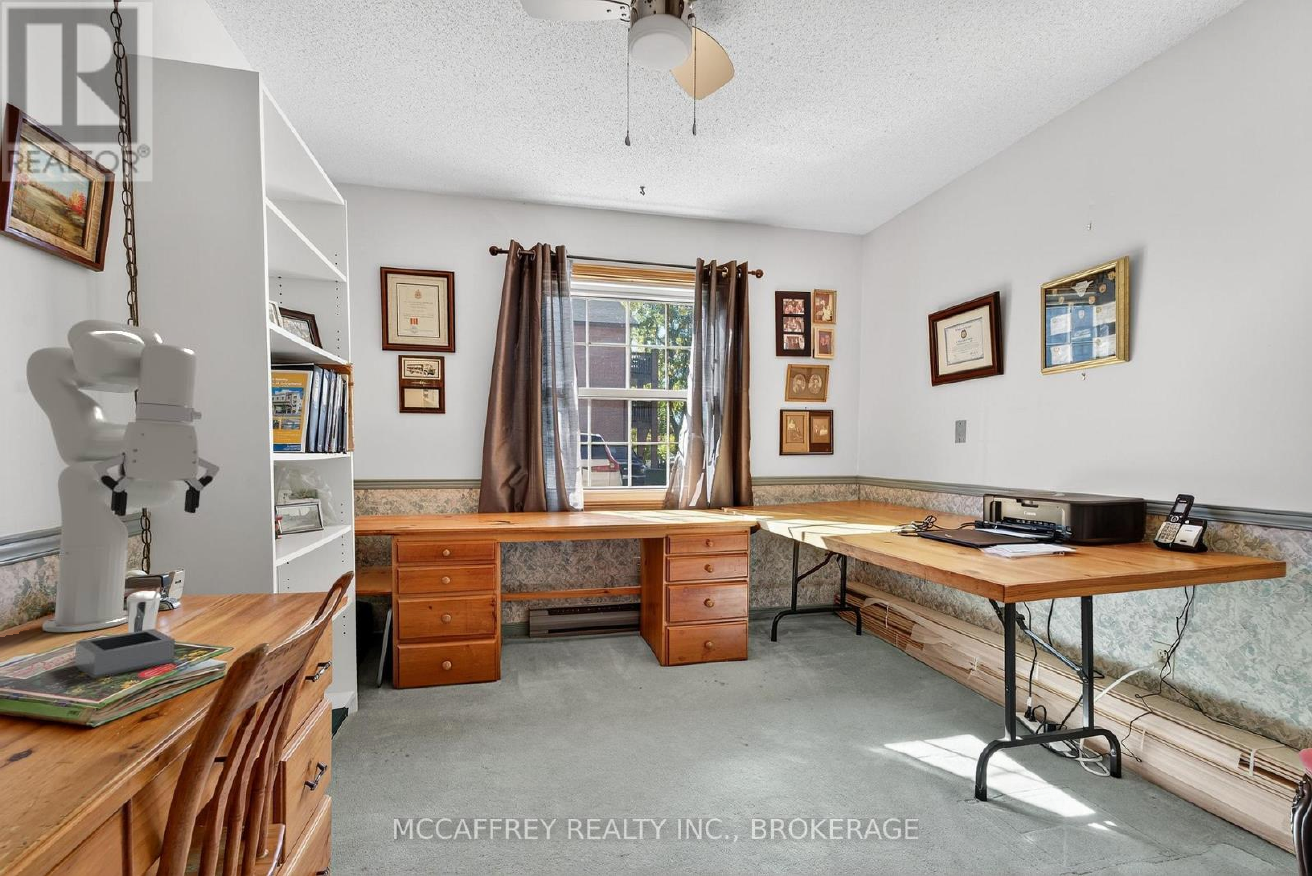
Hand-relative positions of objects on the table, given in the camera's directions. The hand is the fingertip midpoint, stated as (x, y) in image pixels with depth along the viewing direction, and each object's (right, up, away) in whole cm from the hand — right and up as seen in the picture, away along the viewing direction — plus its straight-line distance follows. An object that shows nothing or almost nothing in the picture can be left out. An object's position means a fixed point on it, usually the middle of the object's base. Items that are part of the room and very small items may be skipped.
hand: (156, 513), depth 102 cm
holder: (+2, -23, -8) cm, 24 cm away
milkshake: (-3, -23, +1) cm, 24 cm away
